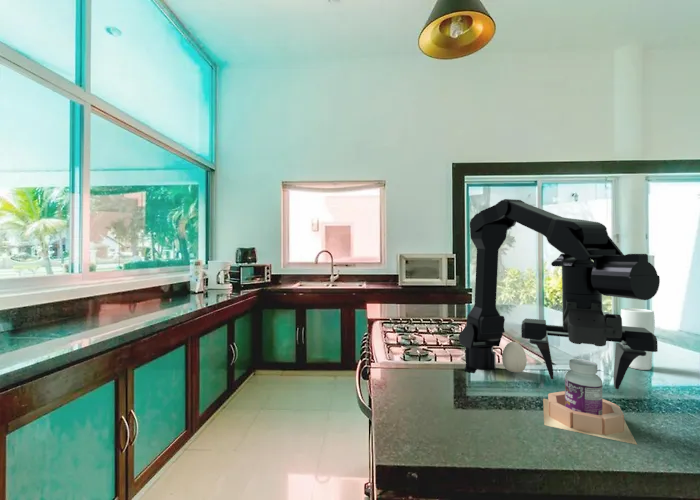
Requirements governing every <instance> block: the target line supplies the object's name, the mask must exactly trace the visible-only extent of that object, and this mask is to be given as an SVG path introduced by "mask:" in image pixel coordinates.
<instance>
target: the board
mask: <svg viewBox="0 0 700 500" xmlns="http://www.w3.org/2000/svg"><path fill="white" fill-rule="evenodd" d="M542 402H543V423H544V424H543V426H546V427H551V428H555V429H561V430H565V431H570V432H575V433H580V434H584V435H589V436H593V437H597V438H598V437H599V438H603V439H608V440H613V441H617V442H621V443H622V442H623V443H625V444H626V443H627V444H631V445H637V446H638V443H637V441H636V440H635V437H634V436H633V434H632V431H631V429H630V428H629V426H628V424H627V422H626V420H625V419H624V431H623V432H619V433H614V434H609V435H604V434H602V435H600V434H595V433H590V432H586V431H581V430H576V429H573V427H572V428H569V427H568V426H566V425H564V424H562V423H560V422H558V421H557V420H555V419H553V418H551V417H550V416H549V408H548V398H542Z"/></svg>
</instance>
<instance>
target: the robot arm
mask: <svg viewBox="0 0 700 500" xmlns="http://www.w3.org/2000/svg"><path fill="white" fill-rule="evenodd" d="M516 223H518V224H520V225H521V226H523V227H526V228H527V229H531V230H532V231H534V232H537V233H539V234H541V235H542V236H544V237H545V238H546V241H547V243H548V244H549V245H550V246H552V247H554V248H555V249H556V250H557V251H558V252H560V254H559V256H558V257H557V258H556V259H554V260H553V261H552V262H551V264H550V265H551V266H552V267H561V290H562V291H561V293H562V294H561V295H562V300H561V301H562V303H561V305H562V307H561V309H562V325H554V324H553V325H552V324H547V321H546V319H535V318H525V319H523V320H522V322H521V329H520V330H521V332H520V333H521V338H522V339H524V340H525V339H526V340H529V343H530V344H532V345H536V347H537V348H538V350H539V353H540V354H541V356H542V358H543V361H544V364H545V367H546V369H547V373H548V375H549V378H550V380H554V367H553V361H552V355H551V349H550V344H549V343H550V342H549V338H548V337H549V336H552V337H562V338H568V341H569V342H570V343H572V344H575V345H582V344H584V345H593V346H596V347H605V346H606V345H607V342H614V343H615V351H614V352H615V353H614V369H613V387H614V389H615V390H619V389H620V386H621V385H622V382H623V380H624V378H625V375H626V373H627V371H628V369H629V368H630V367H629V366H630V364H631V363H632V361H633V360H634V359H635V358H636V357H638V356H646V352H645V351H649V352H652V353H657V352H659V351H658V339H657V336H656V335H655V333H654V334H652V333H651V332H650V331H648V330H647V329H645V328H641V327H628V326H622V318H621V314H617V313H616V314H615V313H605V314H604V312H603V296H605V297H611V298H621V299H631V300H640V301H641V300H642V301H647V300H651V299H652V298H655V296H656V295H657V292H658V291H659V288H660V282H661V281H660V280H661V279H660V275H658V272H657V270H656V268H655V266H654V265H653V264H652V263H651V262H649V255H648V253H627V254H624V252H622V251H621V250H620V248H619V246H618V245H617V244H616V243H615V242H614V241H613V239H612V238H611V236H610V235H609V233H608V230H607V229H608V228H607V227H606V226H605V225H604V224H603V223H601V222H598V221H593V220H585V219H578V218H570V217H569V218H568V217H563V216H560V215H558V214H555V213H552V212H551V211H548V210H544V209H542V208H540V207H537V206H534V205H531V204H529V203H527V202H524V201H523V200H521V199H514V198H513V199H512V198H511V199H509V198H505V199H501V200H500V201H499V202H497V203H496V204H494V205H492V206H490V207H486V208H485V209H483V210H481V211H479V212H477V213H475V215H474V216H473V217H472V218H471V219H470V222H469V232H470V239H471V241H472V244H473V245H474V246H475V248H476V262H475V264H476V265H475V266H476V267H475V286H474V287H475V288H474V306H473V307H472V308H471V310H470V312H469V313H468V314H467V317H466V325H465V326H464V328H463V330H462V331H461V332H460V334H459V335H458V340H459V345H461V346H463V347H465V367H464V368H463V370H464V372H470V373H471V372H472V373H476V371H477V370H480V371H481V370H483V371H484V370H485V371H486V370H490V371H491V370H493V371H495V370H496V366H497V365H496V362H497V360H496V356H497V355H496V352H495V351H494V347H500V345H501V340H502V338H503V335H504V333H505V320H506V319H505V316H504V315H501V313H499V311H498V309H497V293H498V292H497V291H498V289H497V286H498V265H499V250H500V248H501V247H502V245H503V243H504V242H505V241H506V239H507V235H508V234H507V233H508V230H510V229H511V228H513V227H514V226H516Z"/></svg>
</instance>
